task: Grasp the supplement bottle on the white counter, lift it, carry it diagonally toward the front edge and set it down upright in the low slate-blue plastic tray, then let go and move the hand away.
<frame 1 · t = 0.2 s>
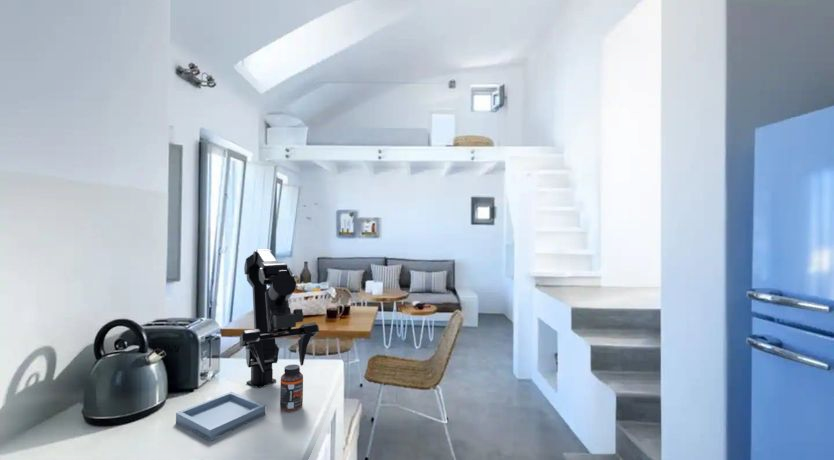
hand: (283, 368, 98), 14 cm above the counter, tool tilted 30°, fingers open, 9 cm apart
supplement bottle: (291, 408, 108), on the counter
tray: (221, 418, 102), on the counter
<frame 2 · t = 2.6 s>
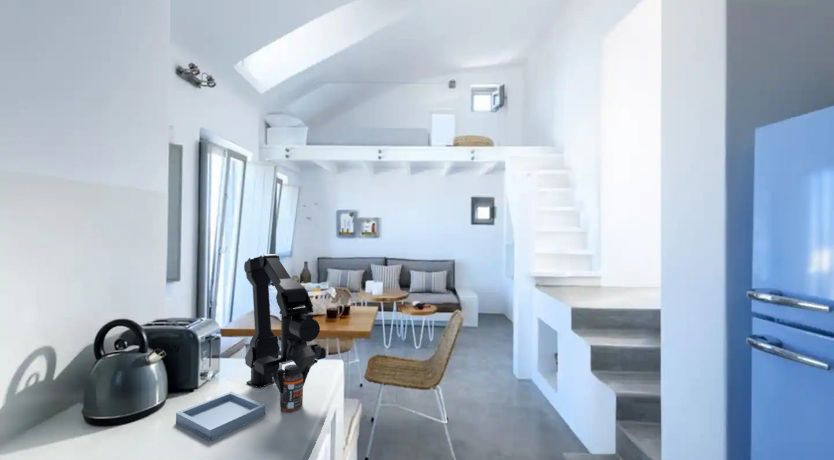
hand: (291, 389, 108), 5 cm above the counter, tool pointing down, fingers closed on supplement bottle, 6 cm apart
supplement bottle: (291, 408, 108), on the counter, touching gripper
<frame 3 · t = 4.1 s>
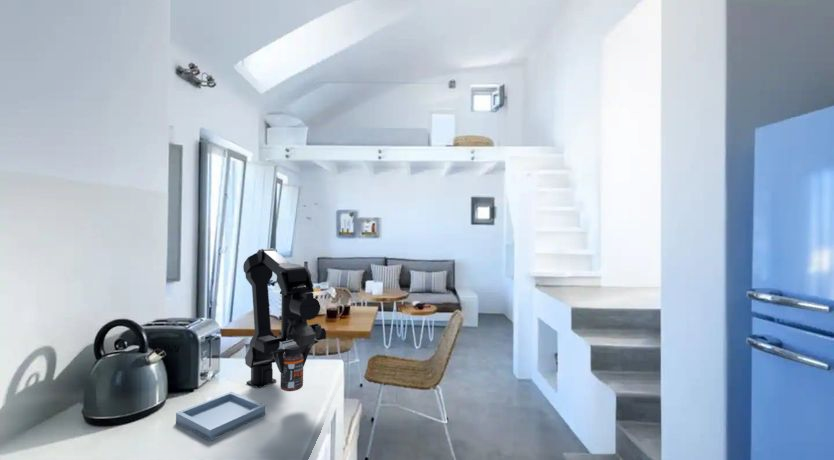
hand: (292, 369, 108), 11 cm above the counter, tool pointing down, fingers closed on supplement bottle, 6 cm apart
supplement bottle: (291, 388, 108), point 5 cm above the counter, touching gripper
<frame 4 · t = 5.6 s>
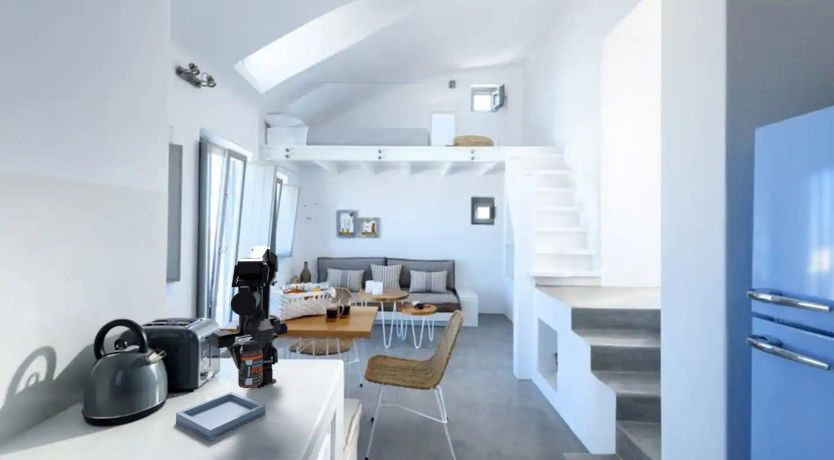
hand: (250, 365, 104), 13 cm above the counter, tool pointing down, fingers closed on supplement bottle, 6 cm apart
supplement bottle: (250, 385, 104), point 8 cm above the counter, touching gripper
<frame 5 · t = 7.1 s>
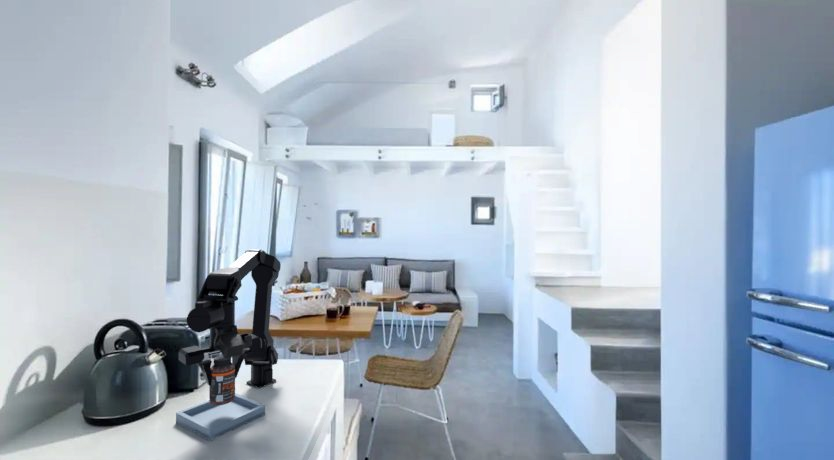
hand: (222, 381, 102), 10 cm above the counter, tool pointing down, fingers closed on supplement bottle, 6 cm apart
supplement bottle: (222, 401, 102), point 4 cm above the counter, touching gripper
when the fingers open (7 cm above the counter, at t = 8.5 s): supplement bottle stays where it is, resting on tray.
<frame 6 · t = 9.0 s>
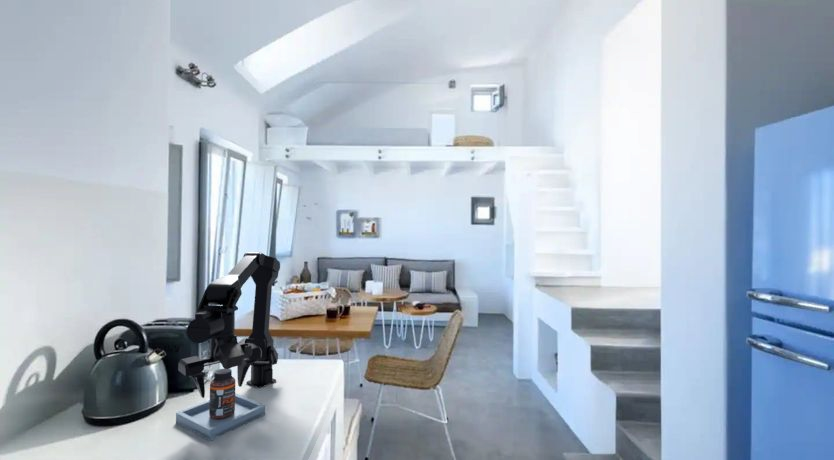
hand: (222, 391, 101), 7 cm above the counter, tool pointing down, fingers open, 9 cm apart
supplement bottle: (222, 415, 102), point 1 cm above the counter, touching tray
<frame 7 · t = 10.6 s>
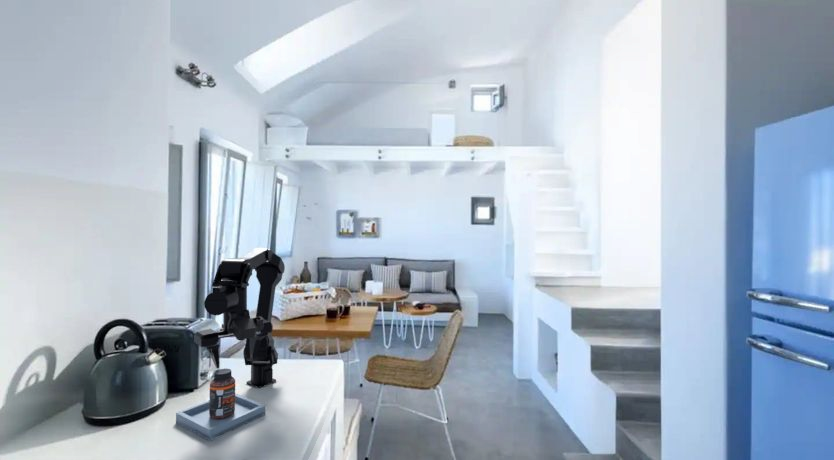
hand: (235, 363, 106), 13 cm above the counter, tool pointing down, fingers open, 9 cm apart
nothing on the counter moved.
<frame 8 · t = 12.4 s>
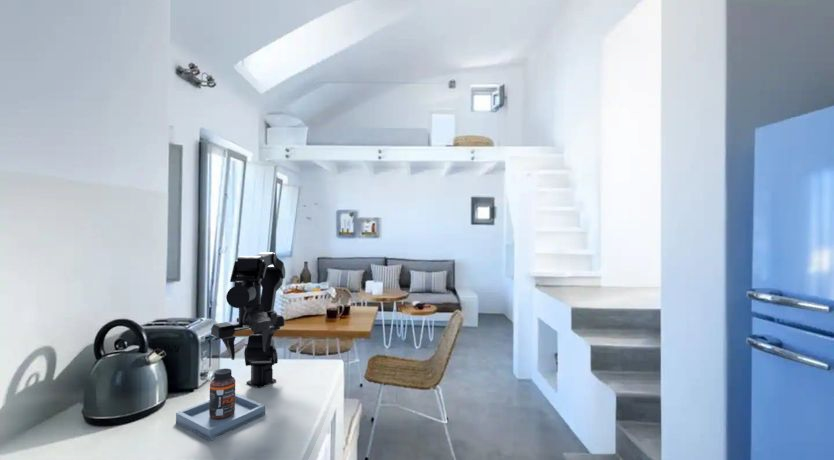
hand: (249, 355, 111), 13 cm above the counter, tool pointing down, fingers open, 9 cm apart
nothing on the counter moved.
at the end: supplement bottle inside the target area on the tray (0.1 cm from its centre), point 0.8 cm above the tray's base; supplement bottle tilted 0°; the gripper is holding nothing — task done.
